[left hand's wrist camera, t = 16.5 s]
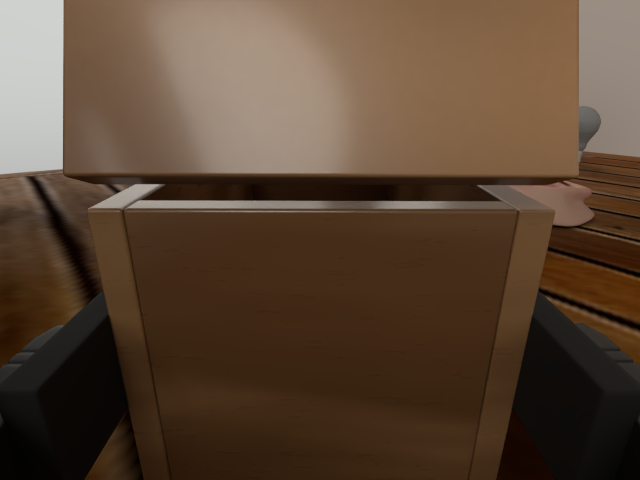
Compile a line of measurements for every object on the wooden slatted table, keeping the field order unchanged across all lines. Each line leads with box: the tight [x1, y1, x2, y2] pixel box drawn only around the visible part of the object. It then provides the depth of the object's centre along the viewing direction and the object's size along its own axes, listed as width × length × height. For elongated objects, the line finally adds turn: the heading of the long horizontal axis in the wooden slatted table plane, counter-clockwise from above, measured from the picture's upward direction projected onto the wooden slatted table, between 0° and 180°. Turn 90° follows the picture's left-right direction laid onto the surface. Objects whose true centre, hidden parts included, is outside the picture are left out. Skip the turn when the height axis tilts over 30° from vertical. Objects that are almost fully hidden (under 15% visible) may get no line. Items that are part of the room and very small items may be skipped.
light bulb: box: [579, 106, 601, 162], centre depth 72 cm, size 6×6×10 cm
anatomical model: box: [507, 181, 594, 226], centre depth 45 cm, size 13×4×12 cm
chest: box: [87, 184, 555, 480], centre depth 18 cm, size 17×10×10 cm, turn 0°
